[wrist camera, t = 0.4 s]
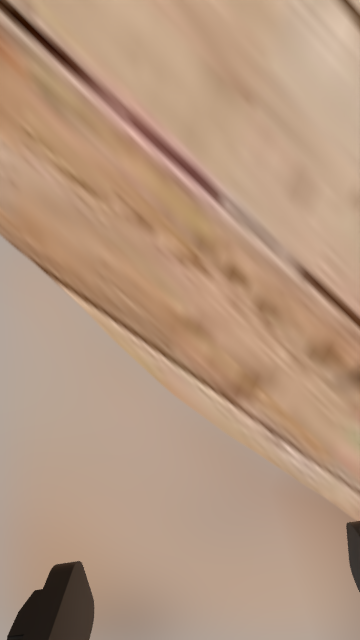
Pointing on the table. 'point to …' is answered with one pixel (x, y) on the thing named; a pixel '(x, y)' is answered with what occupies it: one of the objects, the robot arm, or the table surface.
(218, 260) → the table surface
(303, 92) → the table surface
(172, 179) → the table surface
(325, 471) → the table surface
